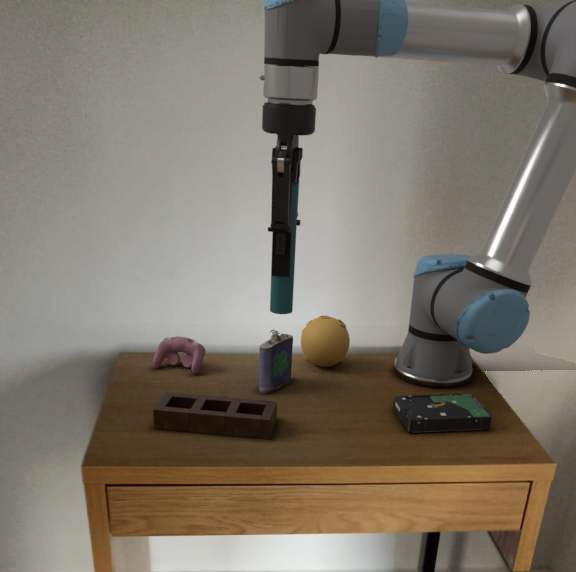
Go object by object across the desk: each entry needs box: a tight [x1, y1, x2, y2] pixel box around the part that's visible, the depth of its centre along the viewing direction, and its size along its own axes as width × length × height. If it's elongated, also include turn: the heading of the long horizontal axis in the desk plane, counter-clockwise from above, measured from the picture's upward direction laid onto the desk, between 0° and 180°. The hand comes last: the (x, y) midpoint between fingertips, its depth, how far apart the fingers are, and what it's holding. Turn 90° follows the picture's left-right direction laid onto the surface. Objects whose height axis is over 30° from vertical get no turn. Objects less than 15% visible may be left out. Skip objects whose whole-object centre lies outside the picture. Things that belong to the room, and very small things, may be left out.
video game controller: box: [152, 336, 206, 375], centre depth 148 cm, size 10×5×7 cm, turn 72°
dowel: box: [269, 182, 300, 315], centre depth 115 cm, size 4×4×19 cm
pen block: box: [152, 391, 278, 440], centre depth 127 cm, size 20×8×4 cm, turn 82°
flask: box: [258, 329, 294, 395], centre depth 140 cm, size 9×3×11 cm, turn 146°
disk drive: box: [392, 393, 493, 433], centre depth 131 cm, size 10×3×15 cm
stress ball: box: [300, 315, 351, 368], centre depth 150 cm, size 10×10×10 cm
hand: (282, 272), depth 117 cm, fingers closed on dowel, 4 cm apart
